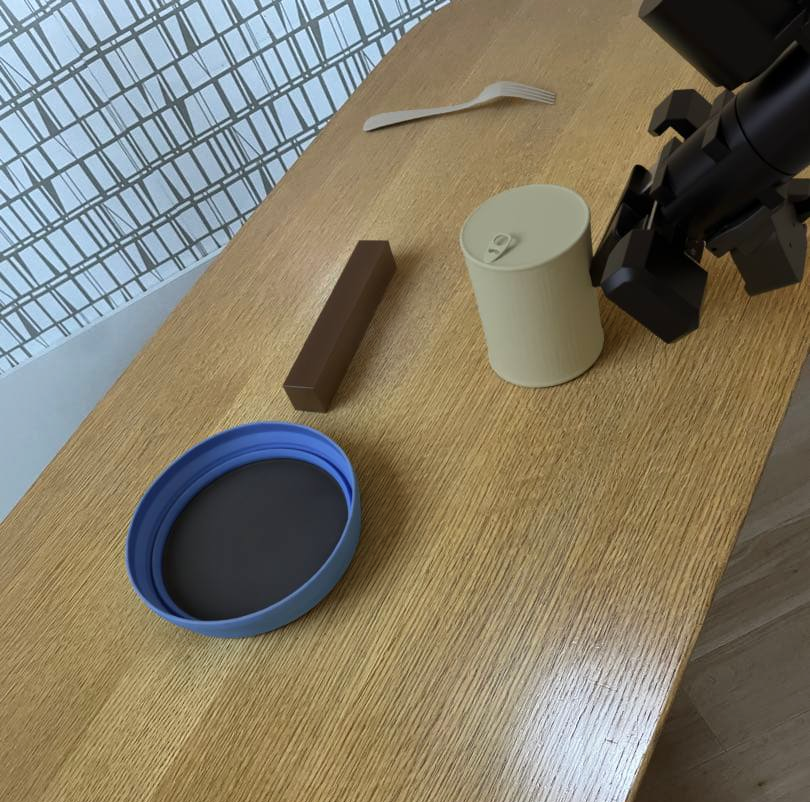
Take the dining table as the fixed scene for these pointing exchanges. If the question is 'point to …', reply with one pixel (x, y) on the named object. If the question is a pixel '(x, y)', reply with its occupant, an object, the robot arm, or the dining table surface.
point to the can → (535, 283)
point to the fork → (488, 93)
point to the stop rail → (340, 327)
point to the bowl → (245, 530)
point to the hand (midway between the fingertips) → (589, 280)
